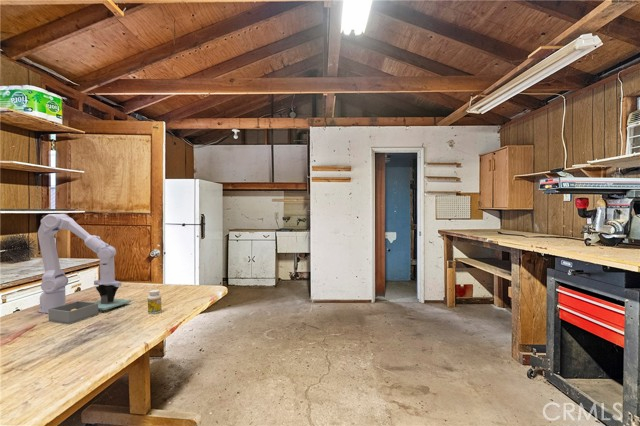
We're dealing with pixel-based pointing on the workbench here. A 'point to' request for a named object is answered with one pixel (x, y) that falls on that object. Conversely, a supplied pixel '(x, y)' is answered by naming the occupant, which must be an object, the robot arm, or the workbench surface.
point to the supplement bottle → (154, 302)
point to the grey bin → (73, 312)
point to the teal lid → (110, 303)
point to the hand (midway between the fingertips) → (107, 300)
